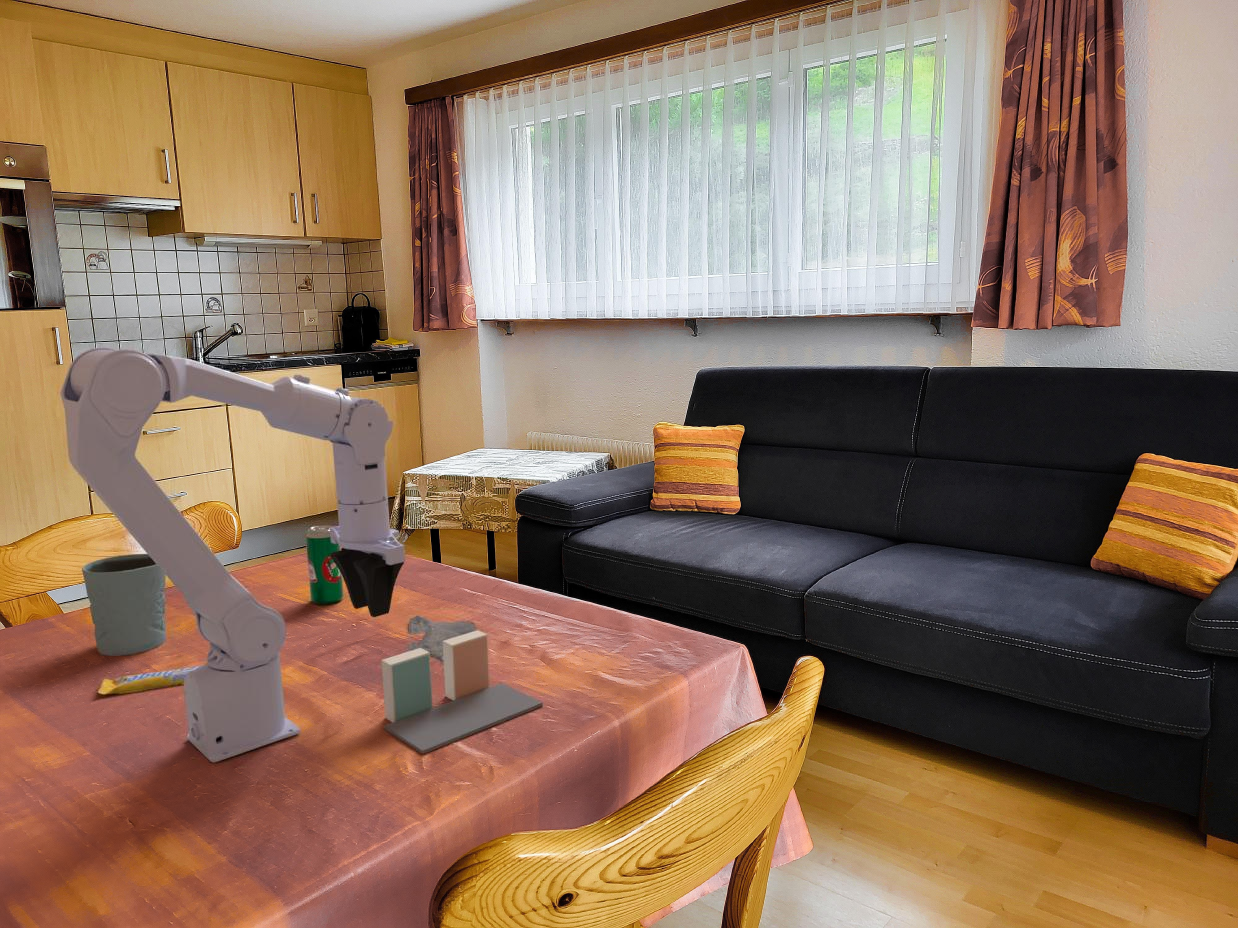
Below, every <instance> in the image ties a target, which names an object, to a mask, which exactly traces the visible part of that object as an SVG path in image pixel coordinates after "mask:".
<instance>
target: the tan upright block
mask: <svg viewBox="0 0 1238 928" xmlns="http://www.w3.org/2000/svg"><path fill="white" fill-rule="evenodd" d="M488 645H489V644H488V634H487V633H486V632H482V631H480V630H479V629H478V630H475V631H473V632H470V633H467V634H464V635H460V636H457V637H454V638H451V639H448V640H444V641H443V657H444V664H443V673H444V688H445V689H444V693H445V698H448V699H449V700H452V701H453V700H456V699H459V698H462V697H464V696H467V695H470V694H473V693H475V692H478V691H481V690H484V689H486V688H489V687H491V686H490V671H489V670H490V668H489V646H488Z"/></svg>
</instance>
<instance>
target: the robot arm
mask: <svg viewBox="0 0 1238 928" xmlns="http://www.w3.org/2000/svg"><path fill="white" fill-rule="evenodd" d="M310 382H311V377H310V376H305V375H302V374H294V375H293V377H290V376H283V377H280V378H279V379H277V380H275V381H274V382H272V383H267V382H263V381H260V380H258V379H254V378H251V377H247V376H245V375H241V374H238V373H235V372H232V371H228V370H224V369H222V368H220V367H219V368H218V367H215V366H212V365H209V364H206V363H203V362H200V361H196V360H192V359H190V358H186V357H179V356H172V355H164V354H157V353H156V354H154V353H145V352H142V351H139V350H135V349H129V348H128V349H127V348H125V349H117V350H116V349H113V348H109V347H95V348H90V349H88V350H85V351H84V352H81V353H80V354H78V355H77V356H76V357H75V358H74V359H73V361H72V362H71V363H70V366H69V368H68V370H67V373H66V376H65V378H64V382H63V384H62V387H61V391H60V397H61V401H62V405H63V408H64V416H65V417H64V418H65V428H66V431H65V432H66V441H67V452H68V453H67V454H68V460H69V462H70V464H71V466H72V467H73V469H74V471H76V472H77V473H78V475H79V476H80V477H81V479H82V480H83V481H84V482H85V483H86V484H87V485H88V486H89V487H90V489H91V490H92V491H93V492H94V494H95V495H96V496H97V497H98V498H99V499H100V501H102V503H103V504H104V505H105V506H106V507H107V509H108V510H109V511H110V512H111V513H112V514H113V515H114V517H115V518H116V519H117V520H118V521H119V522H120V523H121V525H122V526H123V528H125V530H126V531H127V532H128V533H129V534H130V535H131V537H132V538H134V540H135V541H136V542H137V544H139V546H140V547H141V548H142V549H143V550H144V552H145V554H148V555H149V556H150V557H151V558H152V559H153V561H154V562H155V563H156V564H157V565H158V566H159V568H160V569H161V570H162V571H163V572H164V573H165V577H167V578H168V580H170V582H171V583H172V584H173V585H174V586H175V588H176V589H177V590H178V591H179V592H180V593H181V594H182V596H183V597H184V600H185V603H186V605H187V606H188V607H189V609H190V610H191V611H192V612H193V614H194V617H195V621H196V627H197V630H198V632H199V635H200V636H201V637H202V638H203V639H204V640H205V641H207V643H209V649H208V652H207V655H206V656H207V657H206V663H205V664H203V665H201V666H202V667H200V668H198V669H196V670H194V671H191V672H189V673H187V674H186V675H185V678H184V684H183V690H184V691H183V692H184V693H183V695H184V701H185V711H186V721H187V729H188V730H187V731H188V733H187V735H186V737H187V739H188V742H190V743H191V744H192V745H193V746H194V747H196V748H197V749H198V751H199V752H200V753H201V754H203V756H205V758H206V759H208V760H209V761H210V762H211V763H217V762H220V761H222V760H226V759H229V758H231V757H235V756H237V755H240V754H243V753H246V752H249V751H251V750H255V749H257V748H261V747H264V746H266V745H269V744H272V743H275V742H278V741H281V740H284V739H287V738H289V737H292V736H295V735H298V734H299V733H301V728H300V727H299V726H298V725H296V724H295V723H294V722H293V721H291V720H290V719H288V717H286V714H285V713H286V712H285V700H284V692H283V691H284V689H283V680H282V679H283V678H282V667H281V666H282V665H281V656H280V650H281V649H282V648H283V645H284V643H285V641H286V637H287V625H286V621H285V619H284V617H283V616H282V615H281V613H279V611H277V610H276V609H274V608H273V607H270V606H267V605H264V604H263V603H260V602H259V601H258V600H257V599H256V598H255V596H254V595H253V594H252V593H251V592H250V590H248V589H247V588H246V587H245V586H244V585H243V584H242V583H240V582H239V580H237V579H236V578H235V577H234V576H233V575H232V574H231V573H230V572H229V570H227V568H226V567H225V565H224V564H223V563H222V562H221V561H220V560H219V558H218V557H217V556H216V554H215V553H214V552H213V550H212V549H211V548H210V547H209V546H208V545H207V543H206V542H205V541H204V539H202V537H201V536H200V535H199V533H197V531H196V530H195V529H194V527H193V526H192V525H191V524H190V523H189V521H188V520H187V518H186V517H185V516H184V515H183V514H182V512H181V511H180V510H179V509H178V508H177V506H176V505H175V504H174V503H173V502H172V500H171V498H169V496H168V495H167V494H166V493H165V492H164V491H163V489H162V488H161V487H160V486H159V484H158V483H157V482H156V481H155V479H154V478H153V476H152V475H151V474H150V473H149V472H148V470H147V469H146V468H145V467H144V466H143V465H142V464H141V462H140V461H139V460H138V458H137V457H136V453H137V452H136V451H137V448H138V444H139V442H140V438H141V434H142V431H143V427H144V426H145V425H146V423H148V421H149V420H150V418H152V415H153V414H154V413H155V411H156V410H157V409H158V407H159V406H160V404H161V403H162V402H166V403H171V404H172V403H175V402H179V401H181V400H184V399H187V398H189V397H195V398H199V399H205V400H208V401H213V402H216V403H217V402H218V403H222V404H226V405H229V406H235V407H239V408H244V409H248V410H252V411H257V412H260V413H261V414H262V416H263V417H264V418H265V420H266V422H267V423H268V424H269V426H270V427H272V428H273V429H278V430H282V431H286V432H288V433H289V432H290V433H295V434H297V435H303V436H307V437H311V438H313V439H314V438H315V439H318V440H323V441H328V442H330V443H331V444H332V452H333V453H332V454H333V466H334V469H333V470H334V477H335V478H334V479H335V491H336V503H337V515H338V518H337V519H338V525H337V526H336V525H335V527H331V528H330V536H331V543H334V544H339V546H340V551H336V552H333V553H331V559H332V560H333V561H334V563H335V564H336V566H337V567H338V569H339V571H340V573H341V575H342V580H343V581H344V584H345V586H346V589H347V593H348V595H349V598H350V601H351V604H352V607H353V608H354V609H355V610H359V609H361V608H366V607H367V609H368V612H369V615H370V616H371V617H372V618H377V617H380V616H384V615H387V614H389V613H390V609H391V605H392V599H393V598H392V597H393V594H394V589H395V584H396V581H397V578H398V576H399V573H400V571H401V569H402V568H403V566H404V563H405V562H406V551H405V544H401V543H400V542H399V541H398V540H397V539H396V538H399V535H400V531H399V530H397V529H394V528H391V527H390V523H391V522H390V512H389V511H390V510H389V498H388V487H387V486H388V484H387V483H388V482H387V469H386V444H387V442H388V440H389V439H390V437H391V435H392V431H393V426H394V425H393V421H392V420H390V419H389V415H388V412H387V410H386V408H385V407H384V406H383V407H382V404H381V403H380V402H378V401H376V400H375V399H370V398H363V397H354V396H350V395H349V394H350V390H349V389H346V388H342V387H337V388H336V389H335V390H334V389H331V388H327V387H323V386H321V385H317V384H315V383H310Z"/></svg>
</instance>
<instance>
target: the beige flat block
mask: <svg viewBox="0 0 1238 928" xmlns="http://www.w3.org/2000/svg"><path fill="white" fill-rule="evenodd" d="M381 673H382V674H381V675H382V687H383V698H384V699H383V701H384V713H385V714H384V715H385V716H384V717H385V719H386V720H388V721H390V722H391V723H393V722H396V721H399V720H402V719H404V718H407V717H410V716H413V715H415V714H418V713H421V712H423V711H426V710H429V709H432V708H434V704H433V703H434V702H433V687H432V672H431V657H430V652H428V651H426V650H424V649H422V648H418V649H415V650H412V651H411V650H408V651H406V652H403V653H399V654H396V655H393V656H391V657H387V658H384V659H381Z"/></svg>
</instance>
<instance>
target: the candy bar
mask: <svg viewBox="0 0 1238 928" xmlns="http://www.w3.org/2000/svg"><path fill="white" fill-rule="evenodd" d="M202 666H203V665H197V666H191V667H184V668H179V669H172V670H163V671H156V672H146V673H138V674H133V675H125V676H121V677H117V678H114V679H112V680H111V679H108V678H103V680H102V682H101V685H100V687H99V689H98V690H97V694H100V695H103V696H105V695H110V694H115V695H116V694H118V695H119V694H120V695H122V694H123V693H124V694H130V693H136V692H142V691H143V690H144V691H149V690H148V689H151V690H156V689H155V688H157V689H161V688H162V687H163V688H168V687H167V686H169V687H172V686H171V685H176V686H179V685H178V684H182V685H184V684H183V683H184V678H185V675H186V674H187V673H189V672H191V671H194V670H196V669H198V668H200V667H202ZM144 691H143V692H144Z"/></svg>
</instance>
